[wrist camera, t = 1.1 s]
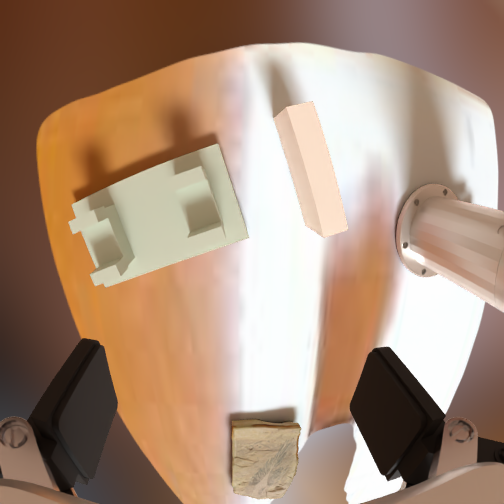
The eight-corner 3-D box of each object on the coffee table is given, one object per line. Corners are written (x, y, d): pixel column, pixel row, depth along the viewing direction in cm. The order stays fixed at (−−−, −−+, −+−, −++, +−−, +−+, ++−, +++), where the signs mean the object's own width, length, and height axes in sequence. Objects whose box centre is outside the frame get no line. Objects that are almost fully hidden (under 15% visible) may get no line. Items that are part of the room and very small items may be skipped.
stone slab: (234, 503, 43) (226, 438, 34) (232, 489, 47) (225, 417, 38) (289, 498, 45) (311, 430, 35) (286, 484, 49) (304, 411, 39)
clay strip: (273, 118, 27) (286, 106, 22) (295, 113, 27) (312, 101, 22) (305, 225, 31) (323, 237, 25) (325, 218, 31) (348, 229, 25)
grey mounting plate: (218, 144, 27) (217, 136, 21) (248, 235, 30) (255, 251, 24) (76, 203, 27) (46, 212, 21) (108, 283, 30) (87, 308, 24)
